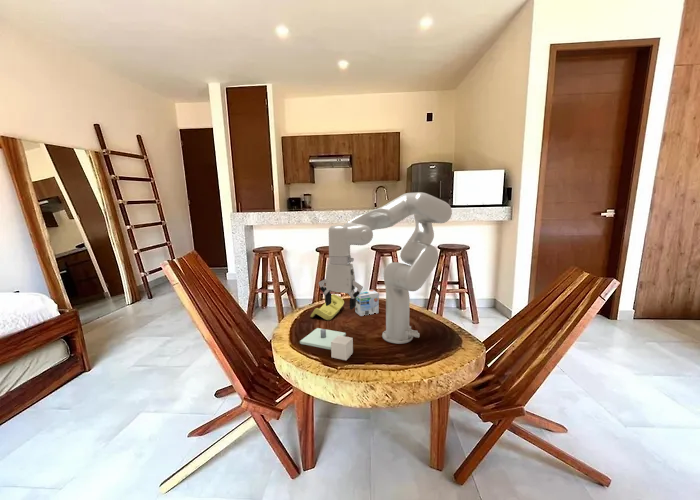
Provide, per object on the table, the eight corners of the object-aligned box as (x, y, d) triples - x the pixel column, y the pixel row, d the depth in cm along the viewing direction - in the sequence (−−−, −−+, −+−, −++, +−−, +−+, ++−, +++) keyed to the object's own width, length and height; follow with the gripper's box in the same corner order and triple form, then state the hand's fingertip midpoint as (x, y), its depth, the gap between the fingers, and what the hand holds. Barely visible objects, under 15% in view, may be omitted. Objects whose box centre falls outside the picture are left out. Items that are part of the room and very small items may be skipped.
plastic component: (330, 317, 145) (313, 306, 147) (325, 328, 148) (308, 318, 150) (347, 301, 163) (331, 292, 165) (342, 312, 165) (326, 302, 168)
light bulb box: (360, 316, 151) (360, 295, 149) (354, 312, 157) (354, 292, 155) (379, 313, 155) (379, 292, 153) (373, 308, 161) (373, 289, 159)
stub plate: (345, 335, 130) (345, 326, 130) (330, 349, 118) (330, 340, 117) (317, 330, 136) (317, 321, 135) (299, 343, 123) (299, 334, 123)
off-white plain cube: (352, 352, 115) (352, 337, 114) (346, 360, 110) (345, 344, 109) (338, 349, 117) (338, 335, 116) (331, 357, 112) (331, 342, 111)
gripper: (366, 260, 108) (366, 306, 110) (323, 256, 115) (324, 300, 118) (357, 264, 101) (358, 313, 104) (313, 260, 108) (314, 306, 111)
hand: (340, 306), depth 111 cm, fingers open, 9 cm apart
